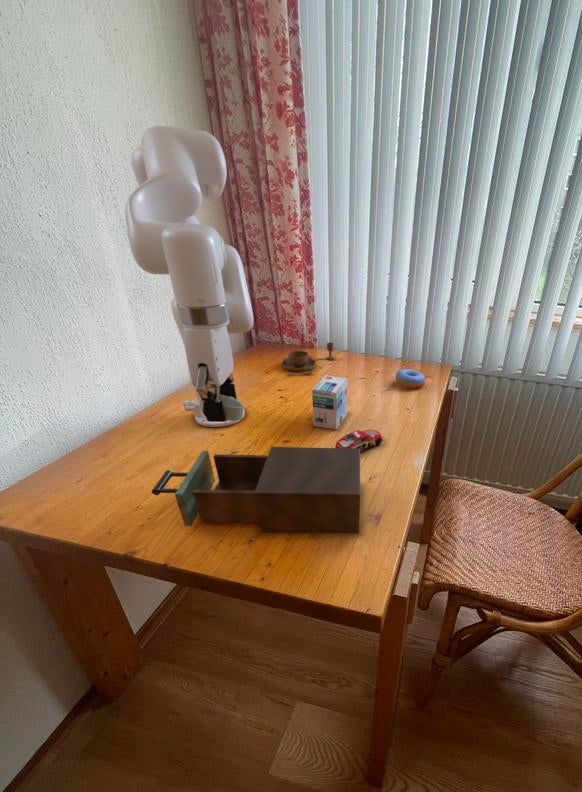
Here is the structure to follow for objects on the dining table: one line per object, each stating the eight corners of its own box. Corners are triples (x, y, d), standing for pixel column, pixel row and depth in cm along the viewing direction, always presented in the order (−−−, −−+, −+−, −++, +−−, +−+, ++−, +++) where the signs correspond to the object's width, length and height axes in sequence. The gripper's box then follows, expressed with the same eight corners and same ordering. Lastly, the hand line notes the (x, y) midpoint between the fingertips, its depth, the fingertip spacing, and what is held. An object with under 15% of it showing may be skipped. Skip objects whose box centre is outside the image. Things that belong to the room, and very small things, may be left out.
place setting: (280, 359, 144) (278, 343, 141) (333, 357, 149) (332, 341, 146) (284, 376, 130) (283, 359, 127) (342, 373, 136) (342, 357, 132)
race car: (372, 434, 102) (372, 421, 99) (386, 443, 98) (387, 429, 96) (331, 450, 94) (331, 436, 92) (345, 460, 91) (345, 445, 88)
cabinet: (260, 532, 70) (254, 492, 64) (275, 483, 82) (271, 446, 77) (359, 533, 71) (360, 494, 66) (359, 484, 83) (360, 448, 78)
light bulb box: (336, 430, 102) (336, 392, 96) (312, 426, 103) (310, 389, 97) (348, 413, 111) (348, 377, 105) (325, 409, 112) (324, 374, 106)
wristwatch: (193, 414, 73) (187, 390, 71) (220, 403, 78) (215, 380, 75) (227, 427, 70) (222, 402, 67) (253, 415, 74) (249, 390, 72)
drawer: (149, 526, 68) (136, 493, 64) (179, 480, 79) (169, 450, 75) (279, 526, 70) (274, 495, 66) (290, 481, 81) (287, 452, 77)
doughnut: (426, 381, 134) (427, 369, 132) (421, 392, 126) (422, 379, 124) (398, 377, 136) (399, 364, 133) (392, 388, 128) (393, 374, 125)
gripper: (198, 303, 71) (217, 393, 80) (157, 327, 56) (185, 433, 66) (240, 304, 71) (253, 393, 81) (210, 329, 57) (230, 434, 67)
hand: (223, 410), depth 73 cm, fingers closed on wristwatch, 7 cm apart
